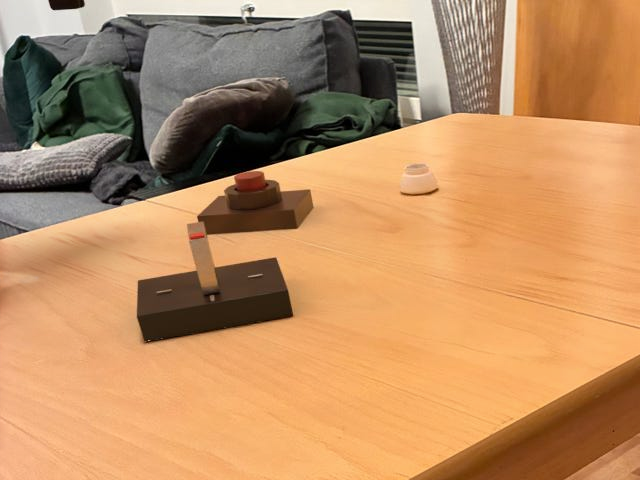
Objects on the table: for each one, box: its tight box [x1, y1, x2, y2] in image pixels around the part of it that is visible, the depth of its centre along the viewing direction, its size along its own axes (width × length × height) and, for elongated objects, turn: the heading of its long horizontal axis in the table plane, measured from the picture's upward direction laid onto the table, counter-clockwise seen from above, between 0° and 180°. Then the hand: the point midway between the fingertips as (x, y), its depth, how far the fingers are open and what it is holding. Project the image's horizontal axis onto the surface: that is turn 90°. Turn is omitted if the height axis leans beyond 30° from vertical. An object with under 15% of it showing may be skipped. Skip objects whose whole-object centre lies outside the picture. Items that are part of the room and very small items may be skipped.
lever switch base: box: [136, 256, 294, 342], centre depth 94 cm, size 14×11×3 cm
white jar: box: [398, 162, 440, 196], centre depth 124 cm, size 5×3×5 cm
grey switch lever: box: [186, 221, 220, 295], centre depth 92 cm, size 6×2×5 cm, turn 15°
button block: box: [196, 179, 315, 236], centre depth 118 cm, size 12×9×4 cm
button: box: [233, 170, 267, 192], centre depth 117 cm, size 4×4×2 cm
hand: (68, 8), depth 103 cm, fingers closed
